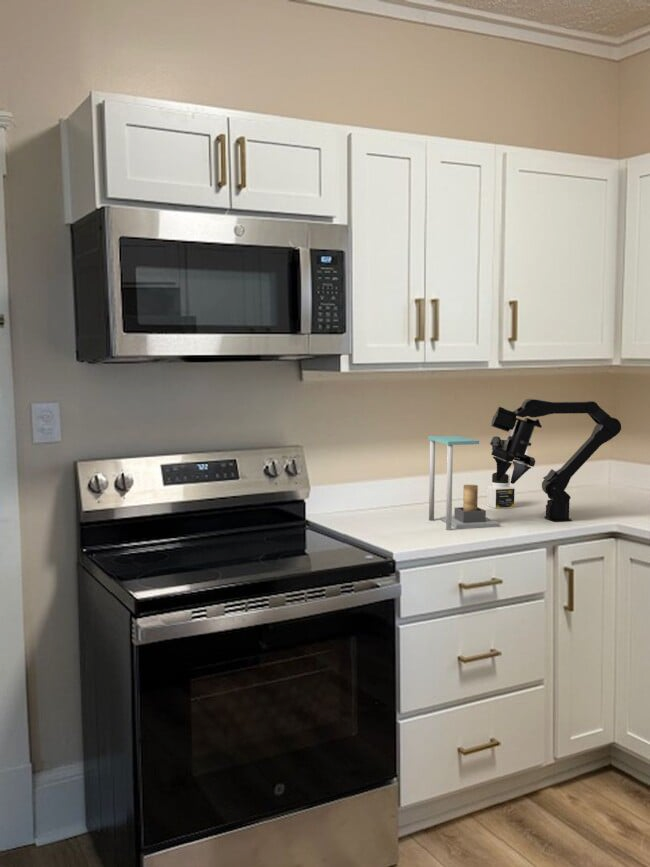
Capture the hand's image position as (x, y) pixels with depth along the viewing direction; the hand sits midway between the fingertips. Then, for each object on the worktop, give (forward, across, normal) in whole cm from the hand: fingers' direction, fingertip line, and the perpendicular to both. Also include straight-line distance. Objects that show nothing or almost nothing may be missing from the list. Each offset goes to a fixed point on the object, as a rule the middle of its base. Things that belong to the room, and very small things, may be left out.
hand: (505, 482), depth 280 cm
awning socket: (+16, +12, -2) cm, 20 cm away
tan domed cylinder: (+14, +11, -1) cm, 18 cm away
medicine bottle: (+11, -21, -10) cm, 26 cm away
